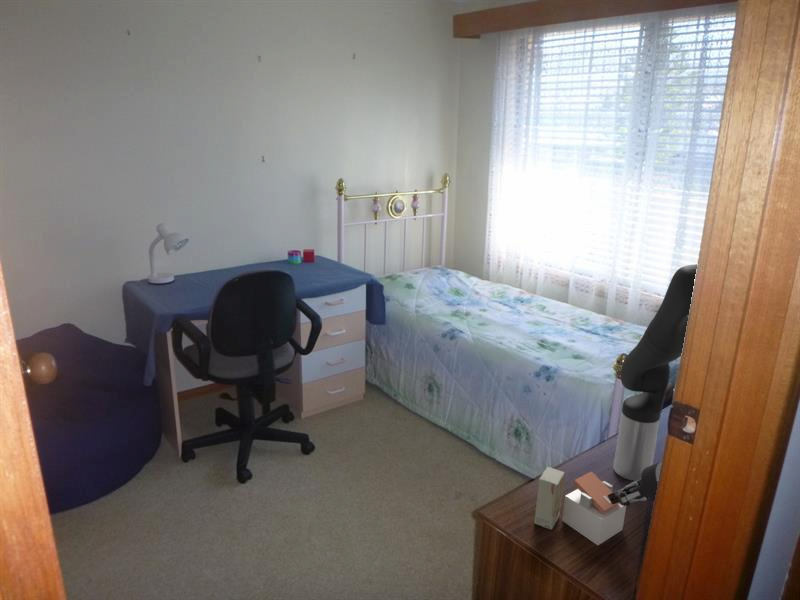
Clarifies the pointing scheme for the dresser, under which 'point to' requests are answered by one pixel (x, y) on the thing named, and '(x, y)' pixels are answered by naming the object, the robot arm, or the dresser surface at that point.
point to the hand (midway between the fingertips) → (611, 498)
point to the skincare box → (549, 497)
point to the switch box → (592, 517)
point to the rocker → (595, 491)
